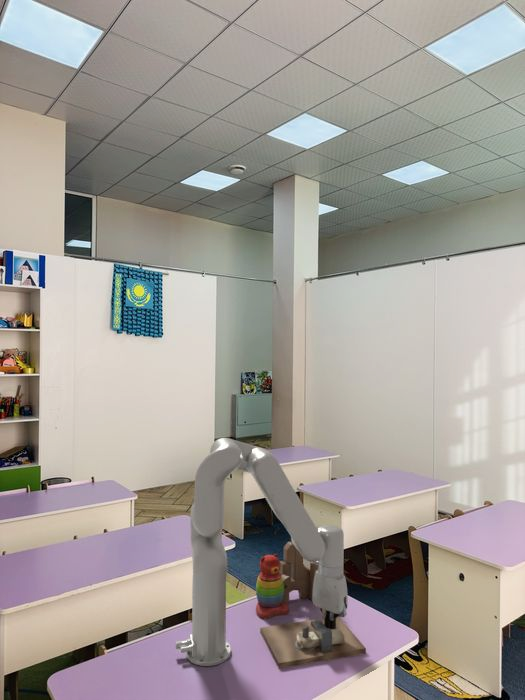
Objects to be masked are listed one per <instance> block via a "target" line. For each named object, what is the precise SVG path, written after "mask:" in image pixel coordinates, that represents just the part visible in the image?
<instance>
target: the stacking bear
mask: <svg viewBox="0 0 525 700" xmlns="http://www.w3.org/2000/svg"><path fill="white" fill-rule="evenodd" d="M259 561H260V562H259V569H260V573H259V575H258V577H257V578H256V585H255V594H256V598H257V599H256V600H257V604H256V607H255V613H256V615H257V617H259V618H260V619H270V618H271V617H272V616H276V615H283V616H284V615H288V614H289V613H290V607H289V606H287V605H286V604H285V603H284V602H283V601H282V600H283V594H284V585H283V581H282V577H281V574H280V561H281V560H279V556H278V554H277V553H274V554H273V555H272V554H266V555H264V556H262V557H261V558H260V560H259Z"/></svg>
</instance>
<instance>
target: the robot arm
mask: <svg viewBox="0 0 525 700" xmlns="http://www.w3.org/2000/svg"><path fill="white" fill-rule="evenodd" d="M209 452H210V453H209V454H208V455H207V456H206V457H205V458H204V459H203V460H202V461H201V463H200V464H199V466H198V468H197V469H196V472H195V473H196V474H195V477H194V491H193V493H194V494H193V495H194V496H193V498H194V499H193V500H194V501H193V503H192V504H191V508H190V516H189V518H190V522H189V523H190V524H189V525H190V552H191V559H192V587H191V588H192V589H191V591H192V593H191V596H192V597H191V598H192V604H191V609H192V612H191V613H192V615H191V616H192V617H191V619H192V620H191V621H192V622H191V631H192V632H191V634H189V638H186V639H185V640H178V641H175V642H174V643H175V644H174V647H175V650H180V653H186V658H187V660H188V661H189V662H191V664H194V665H196V666H201V667H213V666H216V665H221V664H222V663H224V662H226V661H227V660H228V659H229V658H230V657H231V654H232V647H231V645H230V643H229V642H228V641H227V640H226V639H227V636H226V635H227V634H226V633H227V631H226V630H227V629H226V628H227V626H226V625H227V623H226V622H227V614H226V613H227V596H226V595H227V577H228V556H227V551H226V550H225V549H226V548H225V546H224V543H223V539H222V538H223V537H222V535H223V531H222V530H223V528H224V527H225V522H226V515H225V513H226V512H225V483H226V480H227V479H228V477H229V476H230V475H231V474H232V473H233V472H235V471H236V470H239V471H242V472H246V473H250V474H251V476H252V477H253V479H254V481H255V482H256V484H257V486H258V488H259V489H260V491H261V493H262V494H263V496H264V498H265V500H266V502H267V504H268V505H269V507H270V508H271V510H272V511H273V513H274V515H275V516H276V518H277V519H278V520H279V521H280V522H281V524H282V525H283V526H284V528H285V529H286V531H287V532H288V534H289V536H290V539H291V541H292V543H293V545H294V546H295V547H296V549H297V550H298V551H299V553H300V554H301V556H302V557H303V560H305V561H307V562H309V563H310V562H315V565H317V566H318V570H317V571H316V573H315V577H314V582H313V592H312V600H311V601H312V604H313V605H314V606H315V607H316V608H318V609H320V612H321V613H322V618H325V621H324V625H325V626H326V628H327V629H328V628H329V629H330V630H331V629H336V618H337V617H338V616H339V617H340V618H346V616H347V615H348V613H347V609H348V606H349V605H348V603H349V601H348V596H349V595H348V587H347V579H346V576H345V574H344V554H345V553H344V551H345V550H344V545H345V542H344V540H345V539H344V535H345V534H344V531H343V529H342V528H341V527H340V526H338V525H333V524H332V525H331V524H327V525H322V526H319V525H316V524H315V523H314V521H313V520H312V518H311V517H310V515H309V512H307V510H306V508H305V506H304V504H303V502H302V501H301V499H300V497H299V495H298V494H297V492H296V490H295V489H294V487H293V486H292V483H291V482H290V480H289V479H288V476H287V475H286V473H285V472H284V470H283V467H282V466H281V464H280V463H279V461H278V460H277V457H275V455H274V454H273V453H272V452H270V451H269V450H267V449H266V448H264V447H261V446H256V445H254V444H253V445H252V444H249V443H245V442H242V441H239V440H235V439H233V438H227V437H222V438H218V439H216V440H215V441H214V442H213V443H212V444H211V446H210V451H209Z"/></svg>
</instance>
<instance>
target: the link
mask: <svg viewBox="0 0 525 700" xmlns="http://www.w3.org/2000/svg"><path fill="white" fill-rule="evenodd" d="M331 631H332V644H339V643H344V635H343V633H342V632H341V630H340V629H331ZM297 645H298V646H299V647H301V648H311V647H315V646H319V636H318V634H317V633H316V632H315V631H314V632H309V627H308V626H303V627H302V632H300V633H297Z"/></svg>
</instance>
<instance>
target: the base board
mask: <svg viewBox="0 0 525 700" xmlns="http://www.w3.org/2000/svg"><path fill="white" fill-rule="evenodd" d="M315 620H321V621H322V622H323V624H324V621H325V618H324V617H322V618H316V619H310V620H309V619H308V620H303V621H295V622H288V623H282V624H276V625H270V626H262V627H259V629H260V630H259V632H260V636H262V638H263V640H264V643H265V644H266V647H267V649H268V650H269V653H270V654H271V656H272V659H273V660H274V662H275V664H276V666H277V668H278V669H279V670H281V669H286V668H291V667H296V666H303V665H309V664H314V663H320V662H324V661H325V662H326V661H332V660H337V659H342V658H349V657H355V656H360V654H361V655H365V654H367V648H366V647H365V645H364V644H363V643H362V642H361V641H360V639H359V638H358V637H357V636H356V635H355V634H354V632H353V631H352V630H351V629H350V628H349V627H348V626H347V624H346V623H345V622H344V621H343V619H342V617H339V616H338V617H337V618H336V629H340V630H341V632H342V633H343V635H344V643H339V644H332V652H328V653H321V651H320V650H319V646H315V647H311V648H301V647H299V646H298V645H297V633H300V632H302V627H303V626H308V627H309V632H314V631H315V630H314V629H313V627H312V626H311V621H315Z"/></svg>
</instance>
